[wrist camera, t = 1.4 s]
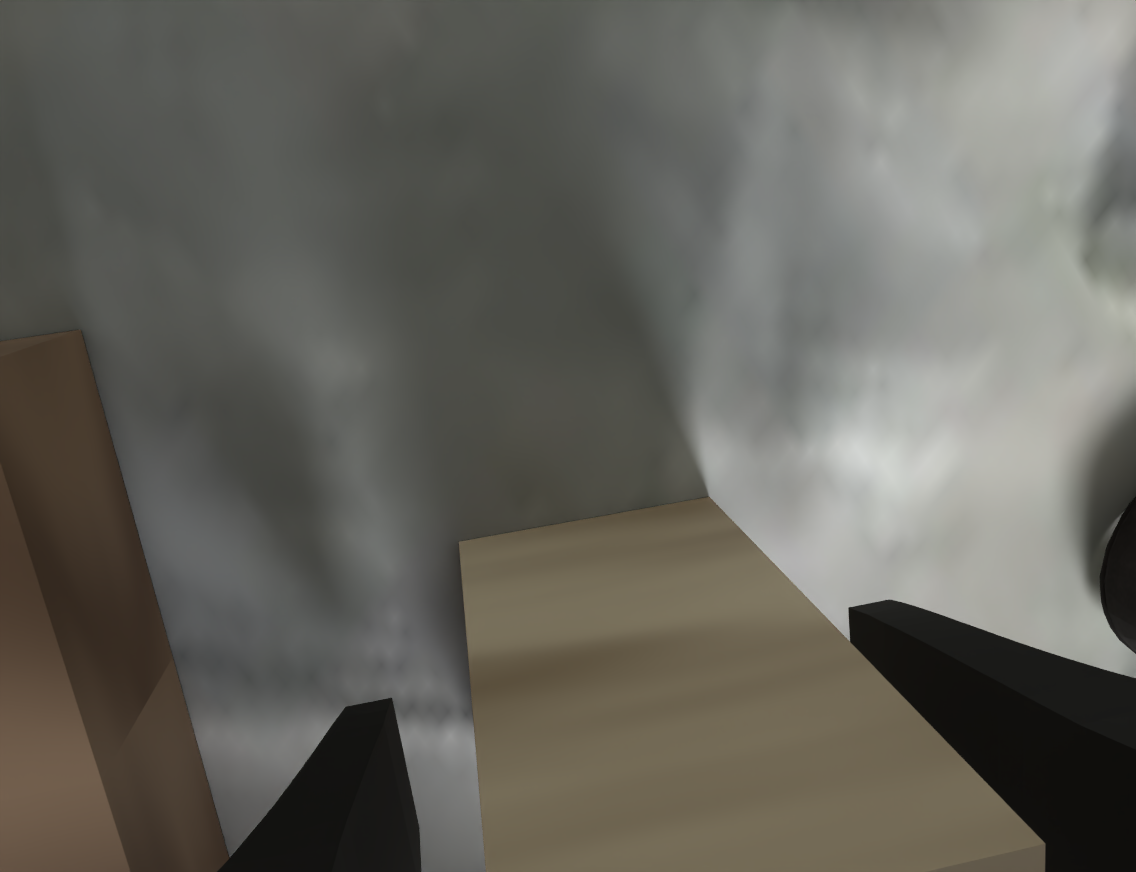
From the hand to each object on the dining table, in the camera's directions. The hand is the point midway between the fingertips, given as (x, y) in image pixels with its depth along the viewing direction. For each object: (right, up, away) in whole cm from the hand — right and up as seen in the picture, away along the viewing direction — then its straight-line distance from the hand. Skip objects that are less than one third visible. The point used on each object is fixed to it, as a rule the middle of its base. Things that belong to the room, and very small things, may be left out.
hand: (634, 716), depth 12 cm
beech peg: (0, +1, +2) cm, 2 cm away
